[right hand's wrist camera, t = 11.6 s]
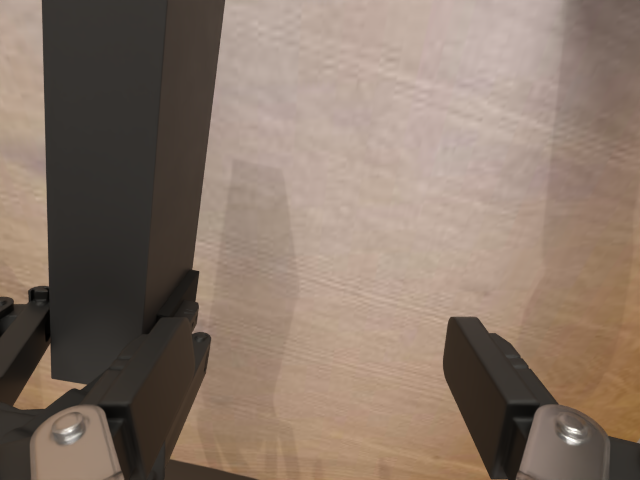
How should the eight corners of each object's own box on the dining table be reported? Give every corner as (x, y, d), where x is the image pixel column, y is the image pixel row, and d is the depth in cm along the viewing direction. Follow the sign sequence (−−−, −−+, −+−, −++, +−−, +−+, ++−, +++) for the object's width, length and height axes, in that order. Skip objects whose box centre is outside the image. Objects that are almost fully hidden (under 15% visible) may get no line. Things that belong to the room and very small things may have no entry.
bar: (146, -76, 22) (36, -191, 13) (231, -53, 22) (178, -149, 14) (125, 299, 31) (50, 379, 22) (187, 311, 31) (137, 393, 22)
